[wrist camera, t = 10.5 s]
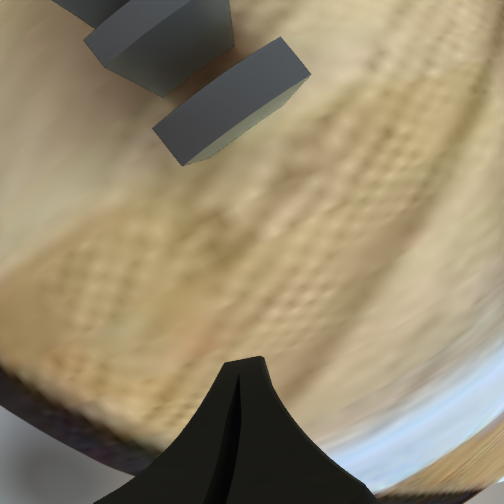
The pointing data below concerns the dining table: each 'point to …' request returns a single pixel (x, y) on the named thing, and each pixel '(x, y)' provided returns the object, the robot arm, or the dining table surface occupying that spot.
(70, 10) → the domino
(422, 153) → the dining table surface
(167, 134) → the domino
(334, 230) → the dining table surface
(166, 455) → the robot arm
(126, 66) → the domino
